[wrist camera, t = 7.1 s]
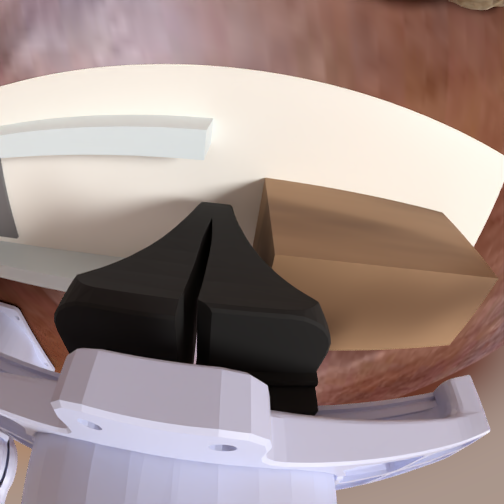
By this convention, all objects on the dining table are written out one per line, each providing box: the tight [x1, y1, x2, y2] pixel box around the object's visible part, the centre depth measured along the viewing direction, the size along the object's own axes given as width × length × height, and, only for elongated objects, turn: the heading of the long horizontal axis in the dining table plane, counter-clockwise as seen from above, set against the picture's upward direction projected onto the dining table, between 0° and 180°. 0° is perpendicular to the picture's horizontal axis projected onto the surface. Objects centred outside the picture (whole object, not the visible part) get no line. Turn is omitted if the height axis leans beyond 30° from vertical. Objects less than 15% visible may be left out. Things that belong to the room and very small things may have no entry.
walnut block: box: [253, 178, 498, 350], centre depth 11 cm, size 4×9×5 cm, turn 82°
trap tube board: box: [0, 64, 504, 292], centre depth 12 cm, size 12×33×3 cm, turn 82°
